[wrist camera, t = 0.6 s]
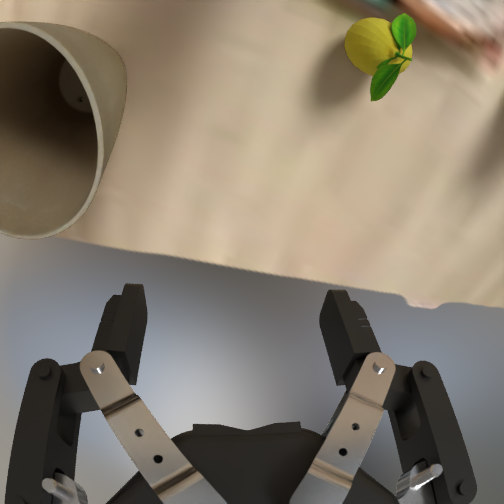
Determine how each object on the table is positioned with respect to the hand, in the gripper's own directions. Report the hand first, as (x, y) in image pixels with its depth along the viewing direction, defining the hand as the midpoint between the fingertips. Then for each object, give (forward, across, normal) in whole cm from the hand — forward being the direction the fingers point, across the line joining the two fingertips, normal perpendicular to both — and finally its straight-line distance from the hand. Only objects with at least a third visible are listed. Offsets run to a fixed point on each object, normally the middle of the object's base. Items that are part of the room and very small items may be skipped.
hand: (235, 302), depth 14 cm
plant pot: (+22, +14, -8) cm, 27 cm away
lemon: (+21, -12, -13) cm, 27 cm away
